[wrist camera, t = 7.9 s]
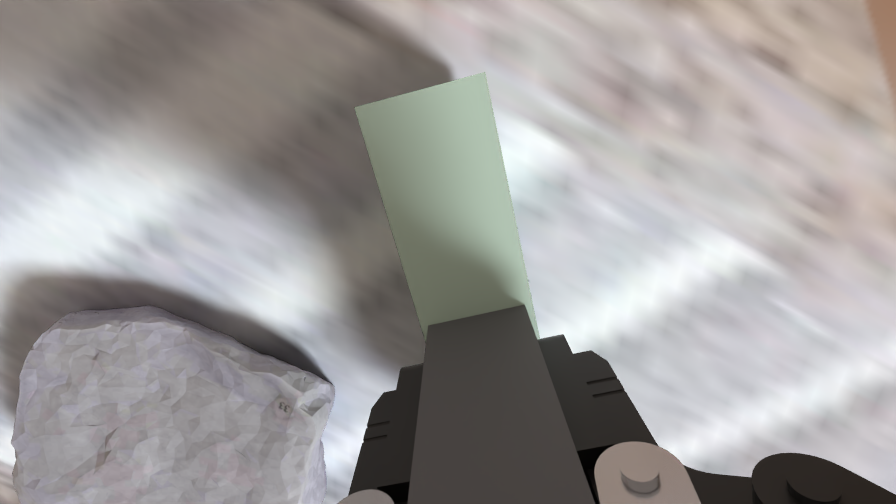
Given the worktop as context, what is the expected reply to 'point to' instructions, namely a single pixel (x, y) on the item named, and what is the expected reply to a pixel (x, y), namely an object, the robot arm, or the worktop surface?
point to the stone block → (164, 416)
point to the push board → (469, 305)
